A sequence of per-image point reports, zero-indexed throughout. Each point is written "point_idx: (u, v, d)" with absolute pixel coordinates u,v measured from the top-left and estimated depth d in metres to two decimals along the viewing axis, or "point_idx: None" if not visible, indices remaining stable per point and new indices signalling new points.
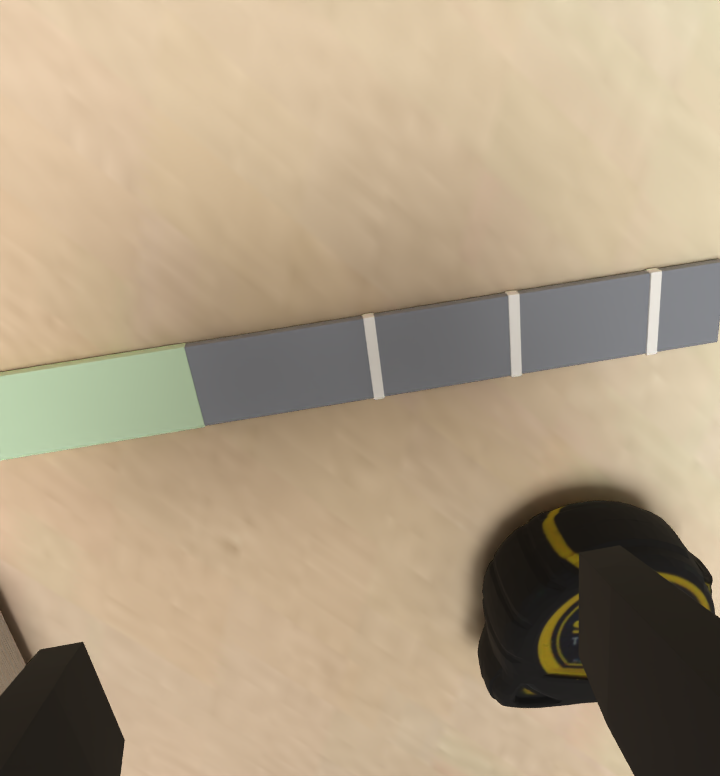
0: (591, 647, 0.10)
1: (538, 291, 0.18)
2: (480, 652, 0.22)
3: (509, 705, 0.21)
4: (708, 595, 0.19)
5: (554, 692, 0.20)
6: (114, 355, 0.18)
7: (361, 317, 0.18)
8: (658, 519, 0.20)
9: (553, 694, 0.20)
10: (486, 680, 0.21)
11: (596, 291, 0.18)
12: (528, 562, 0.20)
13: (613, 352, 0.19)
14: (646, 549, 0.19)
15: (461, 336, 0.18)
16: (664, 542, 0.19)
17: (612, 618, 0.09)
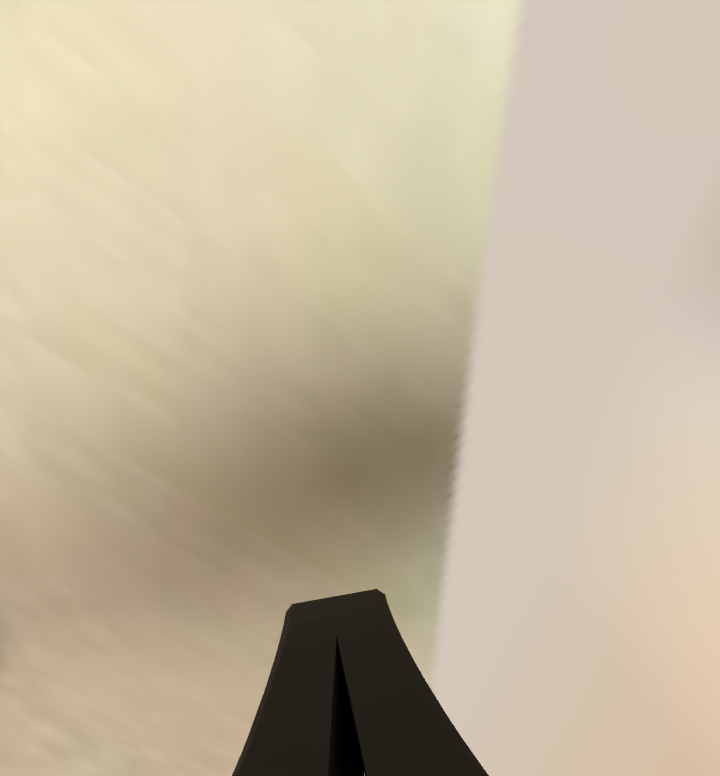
0: None
1: None
2: None
3: None
4: None
5: None
6: None
7: None
8: None
9: None
10: None
11: None
12: None
13: None
14: None
15: None
16: None
17: None
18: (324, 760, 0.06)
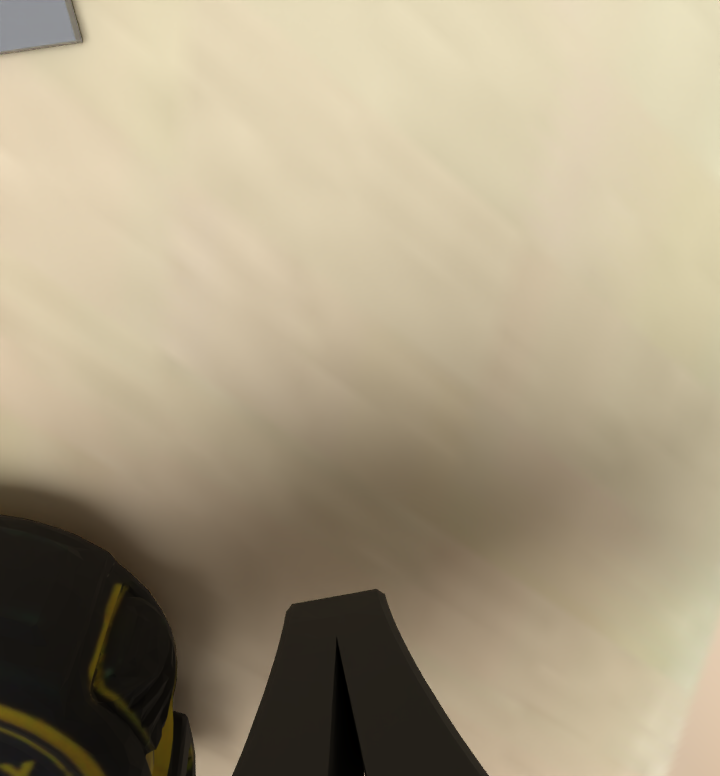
0: None
1: None
2: None
3: None
4: (81, 729, 0.08)
5: None
6: None
7: None
8: (37, 552, 0.09)
9: None
10: None
11: None
12: None
13: None
14: None
15: None
16: None
17: None
18: (324, 760, 0.06)
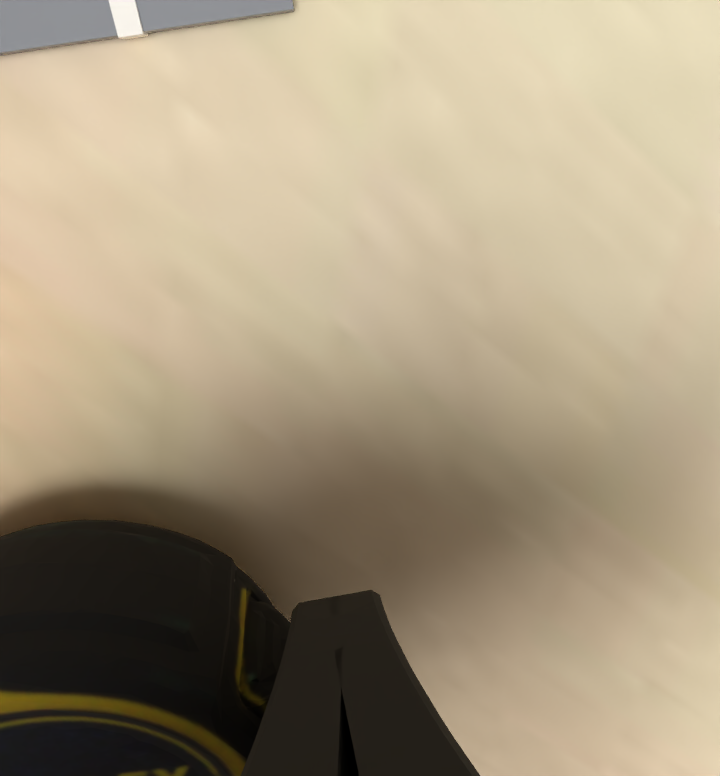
0: None
1: None
2: None
3: None
4: (235, 733, 0.09)
5: None
6: None
7: None
8: (174, 559, 0.09)
9: None
10: None
11: None
12: None
13: (32, 30, 0.08)
14: (56, 638, 0.08)
15: None
16: (120, 618, 0.08)
17: None
18: (334, 758, 0.06)
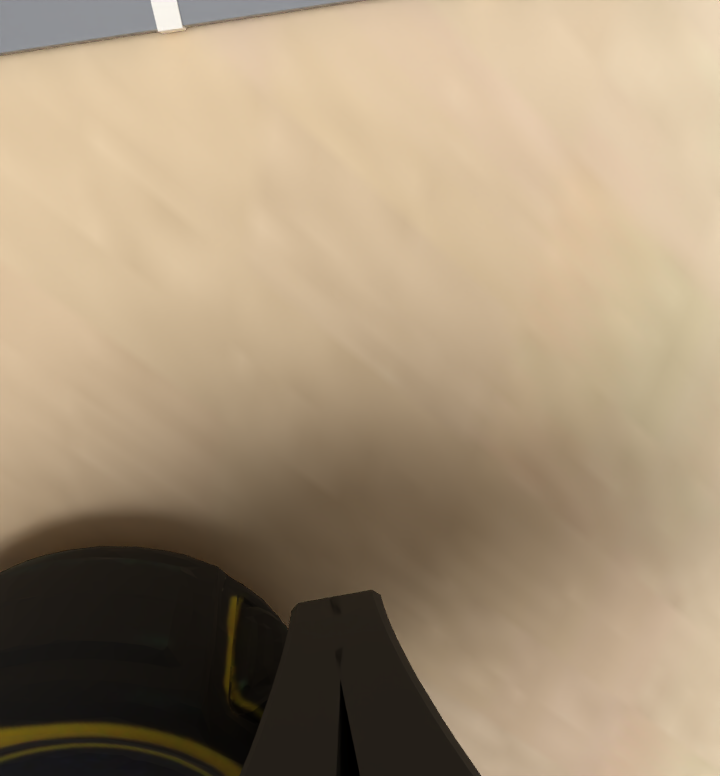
0: None
1: None
2: None
3: None
4: (227, 742, 0.09)
5: None
6: None
7: None
8: (153, 577, 0.10)
9: None
10: None
11: None
12: None
13: None
14: (35, 670, 0.08)
15: None
16: (96, 644, 0.08)
17: None
18: (332, 759, 0.06)
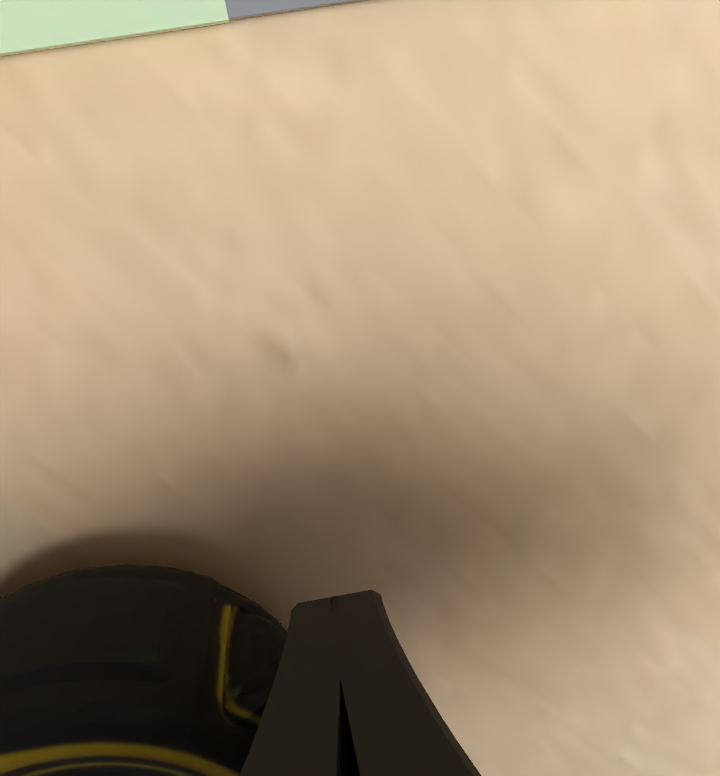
0: None
1: None
2: None
3: None
4: (222, 751, 0.09)
5: None
6: None
7: None
8: (141, 594, 0.10)
9: None
10: None
11: None
12: None
13: None
14: (26, 696, 0.08)
15: None
16: (84, 665, 0.09)
17: None
18: (332, 758, 0.06)
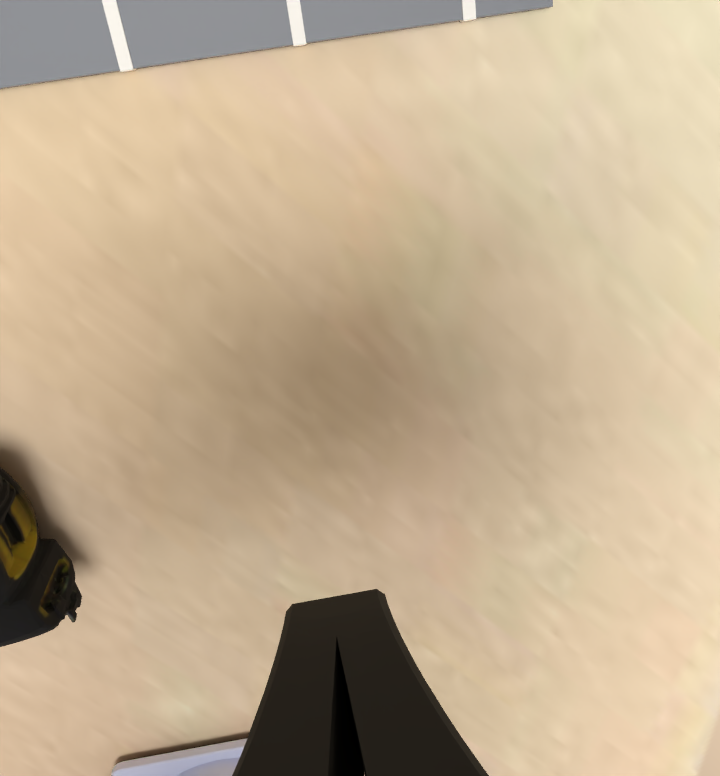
0: None
1: None
2: None
3: None
4: None
5: None
6: None
7: None
8: None
9: None
10: None
11: None
12: None
13: (420, 17, 0.15)
14: None
15: None
16: None
17: None
18: (324, 760, 0.06)
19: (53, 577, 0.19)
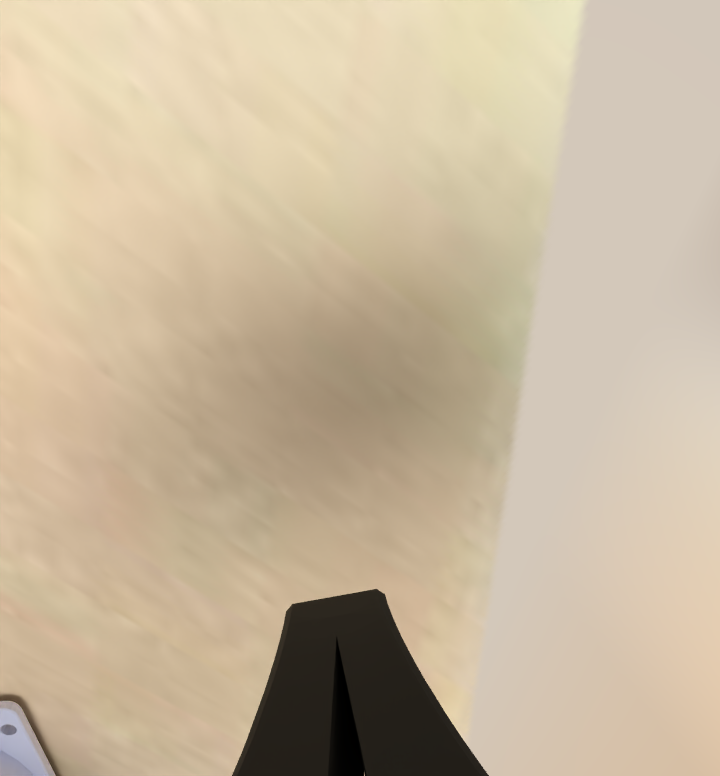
0: None
1: None
2: None
3: None
4: None
5: None
6: None
7: None
8: None
9: None
10: None
11: None
12: None
13: None
14: None
15: None
16: None
17: (343, 667, 0.08)
18: (324, 760, 0.06)
19: None
